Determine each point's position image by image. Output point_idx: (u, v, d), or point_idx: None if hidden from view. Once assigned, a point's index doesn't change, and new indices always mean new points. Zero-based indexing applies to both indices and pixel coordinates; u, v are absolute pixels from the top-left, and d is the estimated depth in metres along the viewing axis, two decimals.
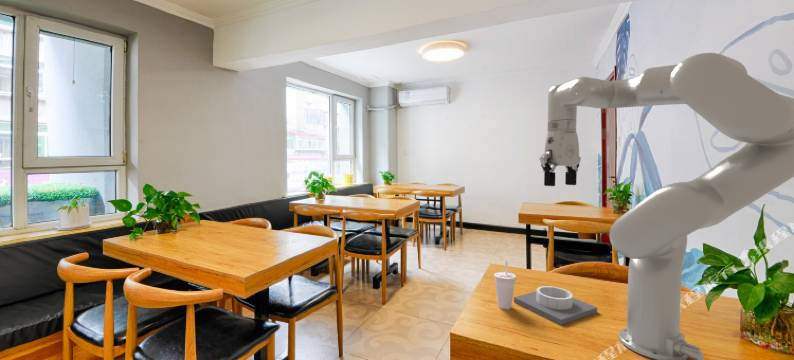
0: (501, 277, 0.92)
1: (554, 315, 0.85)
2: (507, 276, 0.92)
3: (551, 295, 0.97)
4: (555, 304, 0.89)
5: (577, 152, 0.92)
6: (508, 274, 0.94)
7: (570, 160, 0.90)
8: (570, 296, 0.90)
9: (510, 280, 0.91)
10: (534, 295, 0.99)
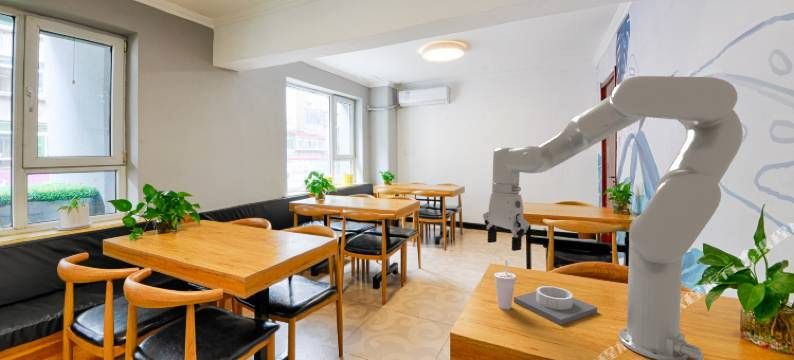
0: (501, 277, 0.92)
1: (554, 315, 0.85)
2: (507, 276, 0.92)
3: (551, 295, 0.97)
4: (555, 304, 0.89)
5: None
6: (508, 274, 0.94)
7: None
8: (570, 296, 0.90)
9: (510, 280, 0.91)
10: (534, 295, 0.99)
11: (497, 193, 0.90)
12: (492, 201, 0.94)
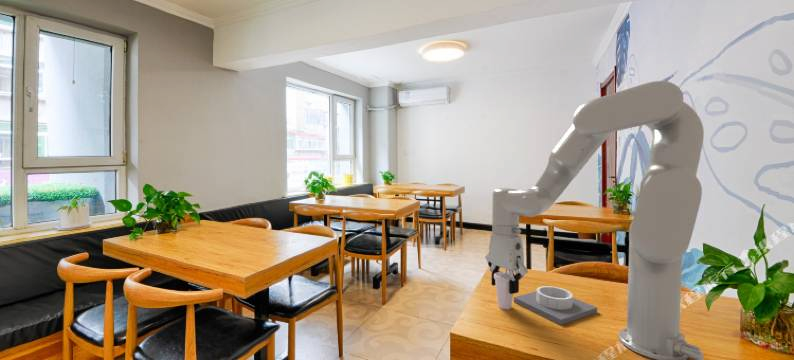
0: (501, 277, 0.92)
1: (554, 315, 0.85)
2: (507, 276, 0.92)
3: (551, 295, 0.97)
4: (555, 304, 0.89)
5: None
6: (508, 274, 0.94)
7: None
8: (570, 296, 0.90)
9: None
10: (534, 295, 0.99)
11: (497, 234, 0.91)
12: (492, 241, 0.95)
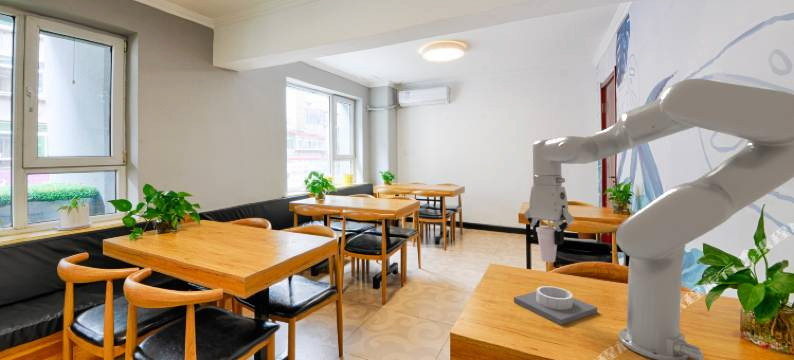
0: (545, 229, 0.91)
1: (554, 315, 0.85)
2: (550, 228, 0.91)
3: (551, 295, 0.97)
4: (555, 304, 0.89)
5: None
6: (551, 227, 0.92)
7: None
8: (570, 296, 0.90)
9: None
10: (534, 295, 0.99)
11: (540, 185, 0.90)
12: (533, 194, 0.93)
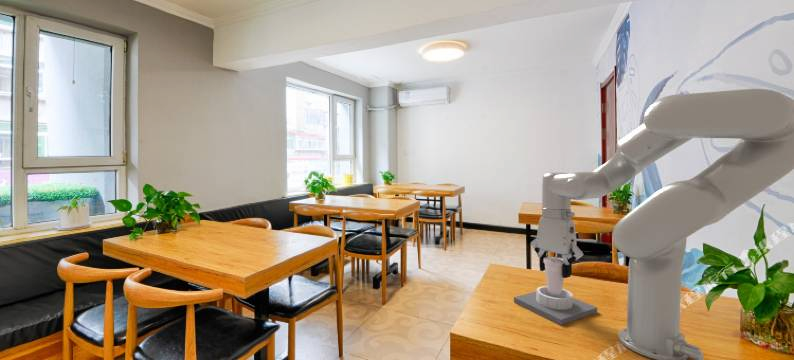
0: (553, 261, 0.91)
1: (554, 315, 0.85)
2: (558, 261, 0.92)
3: (551, 295, 0.97)
4: (555, 304, 0.89)
5: None
6: (558, 259, 0.93)
7: None
8: (570, 296, 0.90)
9: None
10: (534, 295, 0.99)
11: (550, 219, 0.90)
12: (542, 226, 0.94)
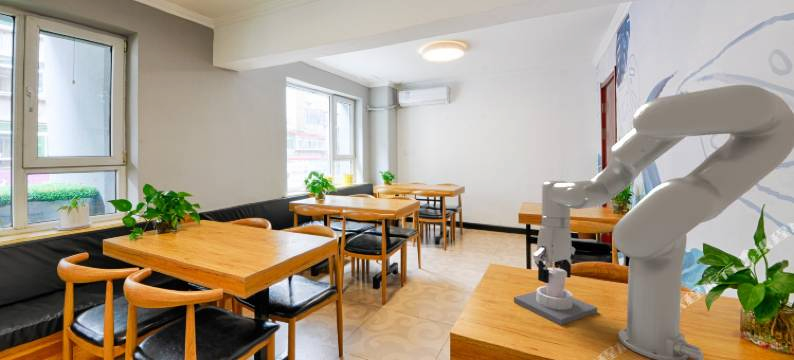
0: (563, 272, 0.91)
1: (554, 315, 0.85)
2: (558, 270, 0.93)
3: None
4: (555, 304, 0.89)
5: None
6: (552, 268, 0.94)
7: None
8: (570, 296, 0.90)
9: None
10: (534, 295, 0.99)
11: (568, 227, 0.89)
12: (555, 237, 0.89)
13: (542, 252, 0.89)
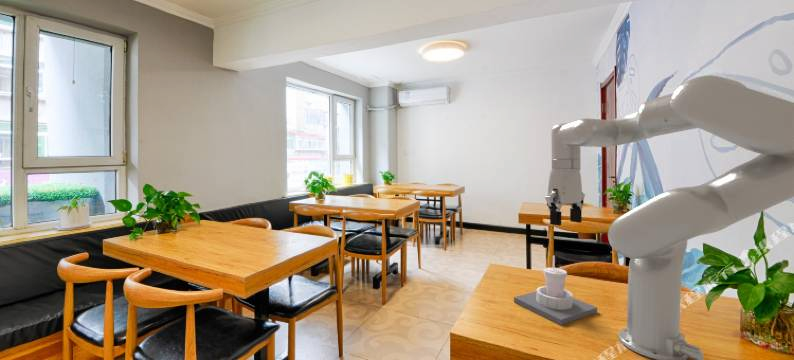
0: (563, 272, 0.91)
1: (554, 315, 0.85)
2: (558, 270, 0.93)
3: None
4: (555, 304, 0.89)
5: None
6: (552, 268, 0.94)
7: None
8: (570, 296, 0.90)
9: None
10: (534, 295, 0.99)
11: (579, 169, 0.89)
12: (567, 179, 0.89)
13: (554, 194, 0.89)
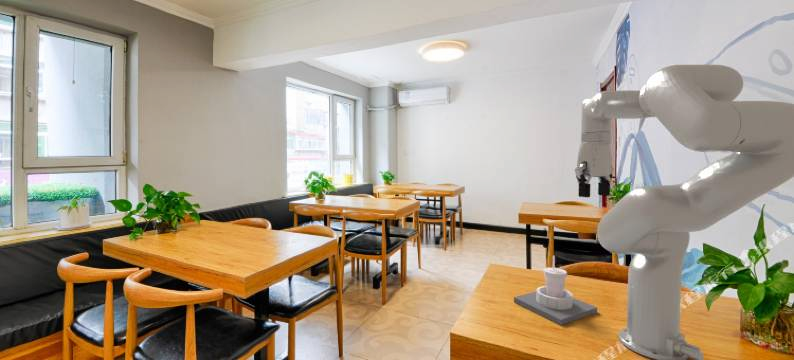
0: (563, 272, 0.91)
1: (554, 315, 0.85)
2: (558, 270, 0.93)
3: None
4: (555, 304, 0.89)
5: None
6: (552, 268, 0.94)
7: None
8: (570, 296, 0.90)
9: None
10: (534, 295, 0.99)
11: (609, 142, 0.90)
12: (597, 151, 0.90)
13: (584, 166, 0.90)
